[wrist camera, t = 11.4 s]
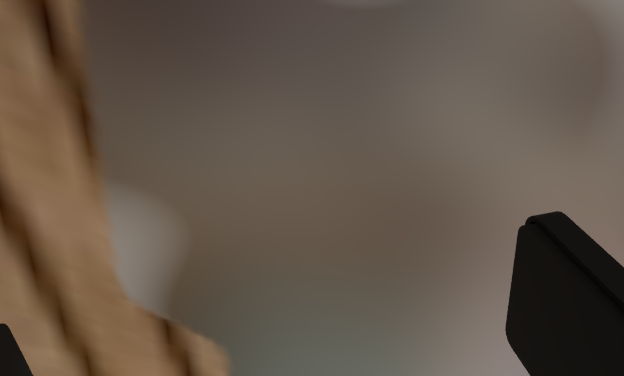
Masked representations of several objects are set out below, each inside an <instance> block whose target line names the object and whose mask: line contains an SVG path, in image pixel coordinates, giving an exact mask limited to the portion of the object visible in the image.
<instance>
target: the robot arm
mask: <svg viewBox="0 0 624 376" xmlns="http://www.w3.org/2000/svg"><path fill="white" fill-rule="evenodd" d="M507 313H508V314H507V321H506V335H507V339H508V342H509V344H510V346H511V347H512V349H513V351H514V352H515V354H516V355H517V356H518V358H519V359H520V361H521V362H522V364H523V365H524V367H525V368H526V370H527V371H528V373H529V374H530V376H624V267H623V266H622V265H620V264H619V263H618V262H617V261H616V260H615V259H614V258H613V257H612V256H611V255H609V254H608V253H607V252H606V251H605V250H604V249H603V248H602V247H601V246H600V245H598V244H597V243H596V242H595V241H594V240H593V239H592V238H591V237H590V236H588V235H587V234H586V233H585V232H584V231H583V230H582V229H581V228H580V227H579V226H577V225H576V224H575V223H574V222H573V221H572V220H571V219H570V218H569V217H568V216H566V215H565V214H564V213H562V212H558V211H557V212H552V213H546V214H541V215H536V216H531V217H529V218H528V219H527V220H526V223H525V225H523V226H521V227H520V228H519V230H518V236H517V244H516V251H515V259H514V266H513V274H512V282H511V290H510V297H509V305H508V312H507ZM0 376H33V374H32V372H31V370H30V368H29V366H28V364H27V362H26V360H25V358H24V356H23V354H22V352H21V350H20V348H19V346H18V344H17V343H16V341H15V339H14V337H13V335H12V333H11V331H10V329H9V327H8V326H7V325H6V324H0Z"/></svg>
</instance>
